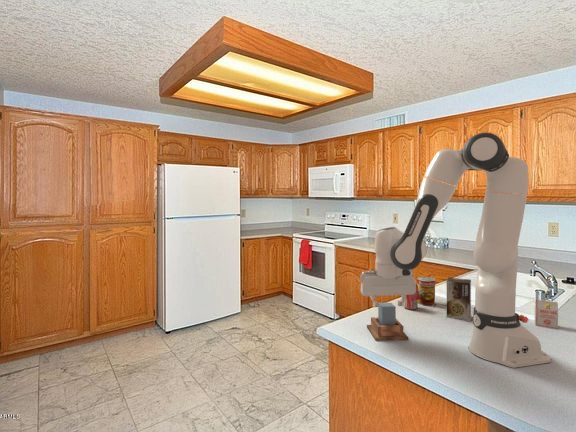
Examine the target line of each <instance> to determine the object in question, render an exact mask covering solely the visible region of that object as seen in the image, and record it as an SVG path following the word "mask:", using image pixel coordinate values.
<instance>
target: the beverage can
mask: <svg viewBox="0 0 576 432" xmlns="http://www.w3.org/2000/svg"><path fill="white" fill-rule="evenodd" d="M415 284H416V292H415V294H412V295H406V299H405V300H404V302H403V306H402V307H404V308H405V309H408V310H415V309H418V306H419V304H418V286H417V281H415Z"/></svg>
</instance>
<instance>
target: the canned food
mask: <svg viewBox="0 0 576 432" xmlns="http://www.w3.org/2000/svg"><path fill="white" fill-rule="evenodd" d="M416 284H417V286H418V305H421V306H425V307H433V306H435V305H436V278H433V277H428V276H419V277H417V281H416Z"/></svg>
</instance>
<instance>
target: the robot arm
mask: <svg viewBox="0 0 576 432" xmlns="http://www.w3.org/2000/svg"><path fill="white" fill-rule="evenodd" d="M467 171H476V172H477V171H483V172H484V174H485V175H486V187H485V191H484V199H483V205H482V211H481V212H482V213H481V217H480V221H479V225H478V229H477V233H476V239H475V243H474V247H473V248H474V249H473V255H472V256H473V260H474V263H475V265H476V266H477V274H476V281H475V300H474V301H475V302H474V308H473V312H472V313H473V314H472V315H473V317H472V318H473V319H472V320H473V331H472V335H471V338H470V343H469V345H468V349H469V351H470V352H471V353H472V354H473V355H474V356H476V357H478V358H481V359H484V360H486V361H489V362H491V363H492V362H494V363H495V364H497V363H498V364H501V365H503V366H507V367H509V368H512V369H513V368H515V369H516V368H522V367H527V366H535V365H541V364H548V363H551V362H552V361H551V357H550V356H549V354H547V353H546V352H545V351H543V350H542V346H541V342H540V340H539V338H538V337H537V336H536V335H535V334H533V333H532V332H531V331H529V330H528V329H526V328H525V327H524V326H523V325H522V324H521V322H522V323H523V324H527V323H528V322H529V317H527V316H525V315H524V314H520V315H519V313H517V312H516V297H517V295H516V294H517V293H516V292H517V279H518V278H517V276H518V261H519V260H518V259H519V249H518V245H519V241H520V236H521V235H520V234H521V229H522V225H523V220H524V216H525V209H526V205H527V199H528V192H529V191H528V190H529V181H530V179H529V178H530V175H529V165H528V163H527V162H526V161H525V160H523V159H521V158H519V157H512V156H510V154H509V152H508V150H507V148H506V146H505V144H504V142H503V139H501V138H500V136H498V135H497V134H494V133H492V132H479V133H476V134H474V135H472V136H471V137H469V139H467V141H466V142H465V144H464V146H462V148H460V149H451V148H443V149H440V150H438V151H437V152H436V153H435V155H434V156H433V158H432V159H431V161H430V163H429V164H428V166H427V168H426V170H425V173H424V174H423V178H422V180H421V181H420V186H419V190H418V193H417V198H416V202H415V206H414V210H413V211H412V214H411V217H410V219H409V220H408V221H409V222H408V223H407V226H406V227H405V230H404V232H403V231H402V230H400V229H399V228H397V227H394V226H390V227H389V226H388V227H385V228H381V229H378V230H377V231H376V233H375V237H374V252H375V261H374V265H375V267H374V268H375V269H374V270H365V271H362V272H361V274H360V275H359V279H360V294H361V295H362V296H363V297H369V298H370V299H371V301H372V302H373V303H372V307H373V308H378V303H379V302H378V301H376V300H375V299H376V297H378V296H379V297H384V296H386V297H387V296H400V297H401V298H400V299H399V300H397V306H398V307H404V306H403V302H404V300H405V299H406V295H412V294H415V292H416V284H417V283H416V284H415V282H416V280H415V278H414V276H413V275H414V269H416V268H418V266H419V265H420V263H421V262H422V260H424V258H425V257H426V255H427V253H428V247H427V244H426V242H425V240H424V238H425V237H426V234H427V232H428V230H429V228H430V227H431V223H432V222H433V219H434V218H436V217H435V216H436V215H437V214H438V213H439V212H440V211H441V210H442V209H444V208H445V207H446V206H447V205H448V203H449V202H450V200H451V199H452V197H453V195H454V194H455V191H456V189H457V187H458V185H459V182H460V180H461V178H462V176H463V175H464V174H465V173H466V172H467Z"/></svg>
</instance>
